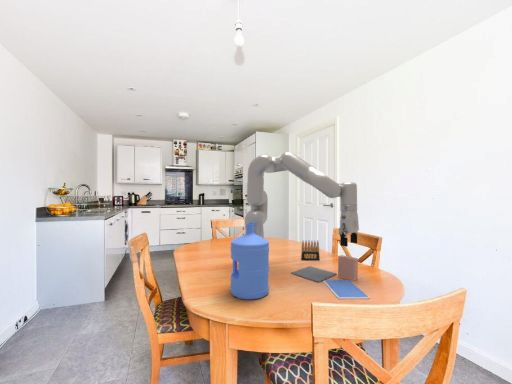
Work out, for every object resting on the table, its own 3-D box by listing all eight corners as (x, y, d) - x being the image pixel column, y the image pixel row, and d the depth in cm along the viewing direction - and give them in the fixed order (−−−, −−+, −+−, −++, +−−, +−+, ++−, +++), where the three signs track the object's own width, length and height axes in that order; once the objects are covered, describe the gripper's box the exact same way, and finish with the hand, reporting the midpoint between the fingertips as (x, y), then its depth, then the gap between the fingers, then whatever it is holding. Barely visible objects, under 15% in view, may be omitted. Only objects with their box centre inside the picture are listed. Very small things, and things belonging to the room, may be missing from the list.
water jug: (271, 286, 107) (272, 221, 107) (264, 302, 92) (265, 227, 92) (237, 283, 111) (237, 220, 110) (224, 298, 95) (225, 225, 95)
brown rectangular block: (354, 281, 114) (354, 259, 114) (338, 276, 120) (338, 256, 120) (357, 279, 116) (357, 258, 116) (341, 275, 122) (341, 255, 122)
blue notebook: (322, 282, 114) (322, 279, 114) (349, 282, 115) (349, 279, 115) (338, 301, 95) (338, 297, 95) (370, 300, 95) (370, 297, 95)
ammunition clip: (318, 259, 150) (318, 239, 149) (319, 260, 148) (319, 240, 148) (301, 259, 150) (301, 239, 149) (301, 260, 148) (301, 240, 148)
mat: (318, 282, 112) (318, 281, 112) (290, 273, 124) (290, 272, 124) (336, 274, 123) (336, 273, 123) (309, 267, 135) (309, 266, 135)
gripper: (347, 209, 109) (347, 248, 109) (364, 207, 121) (364, 242, 121) (331, 209, 115) (332, 246, 115) (349, 207, 126) (350, 240, 126)
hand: (349, 244), depth 118 cm, fingers open, 9 cm apart
